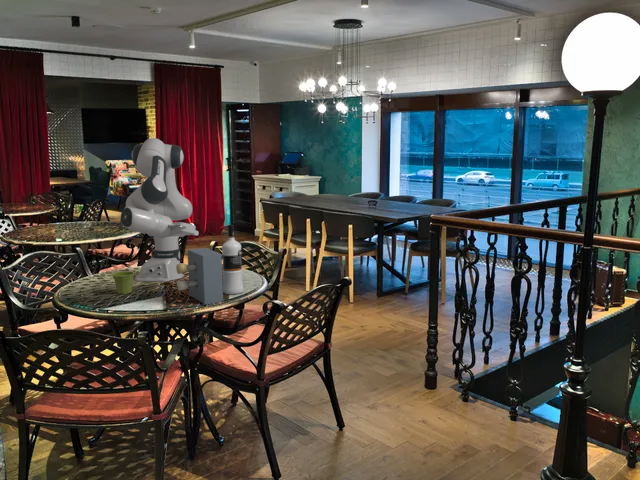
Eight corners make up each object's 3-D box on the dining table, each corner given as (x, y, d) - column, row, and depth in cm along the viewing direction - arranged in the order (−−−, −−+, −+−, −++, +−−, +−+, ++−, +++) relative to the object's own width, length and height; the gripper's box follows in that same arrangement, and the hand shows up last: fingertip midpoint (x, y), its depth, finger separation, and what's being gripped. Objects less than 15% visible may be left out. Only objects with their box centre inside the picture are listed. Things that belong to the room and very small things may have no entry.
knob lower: (180, 291, 238) (180, 282, 237) (177, 289, 241) (176, 280, 241) (211, 287, 245) (211, 277, 245) (208, 285, 249) (207, 276, 248)
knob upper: (179, 274, 237) (179, 265, 236) (176, 273, 240) (176, 263, 240) (211, 270, 244) (210, 261, 243) (207, 269, 247) (207, 259, 247)
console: (204, 304, 237) (202, 256, 234) (189, 295, 252) (187, 249, 249) (223, 301, 241) (221, 254, 238) (206, 292, 256) (205, 247, 253)
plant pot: (115, 296, 251) (113, 276, 249) (111, 291, 259) (110, 272, 258) (137, 293, 255) (136, 274, 254) (133, 289, 263) (132, 270, 262)
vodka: (231, 289, 262) (228, 222, 257) (248, 291, 258) (246, 224, 253) (218, 293, 254) (215, 225, 249) (235, 296, 250) (233, 226, 245)
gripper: (178, 216, 221) (207, 225, 231) (148, 220, 234) (176, 228, 244) (176, 232, 219) (205, 240, 230) (145, 235, 233) (174, 243, 243)
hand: (190, 234), depth 237 cm, fingers open, 8 cm apart
